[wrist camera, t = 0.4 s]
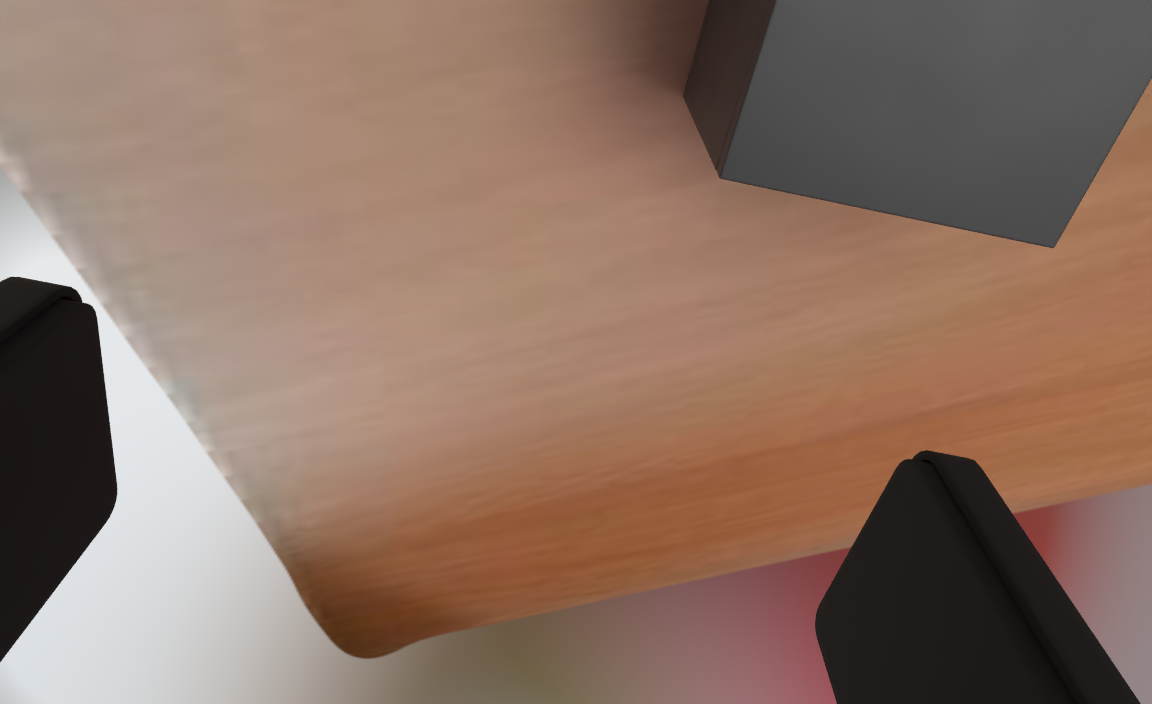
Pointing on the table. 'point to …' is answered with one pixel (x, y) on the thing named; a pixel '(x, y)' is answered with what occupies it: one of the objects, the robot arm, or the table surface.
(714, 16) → the dark storage box
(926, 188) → the lid
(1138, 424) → the table surface
